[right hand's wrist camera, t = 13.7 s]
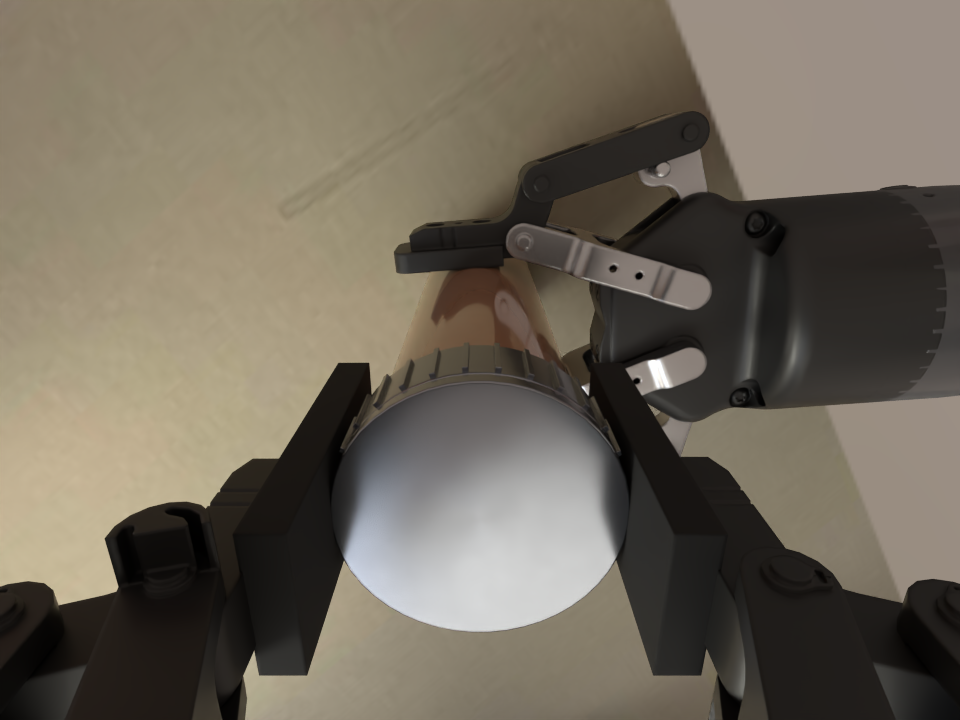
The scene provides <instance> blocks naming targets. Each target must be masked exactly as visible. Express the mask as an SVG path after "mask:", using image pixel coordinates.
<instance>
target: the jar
mask: <svg viewBox="0 0 960 720" xmlns="http://www.w3.org/2000/svg"><path fill="white" fill-rule="evenodd" d="M467 342H469V345H491V346H494V343H500V347H508V348H512V349H516V350H520V351H523V350H524V349H528V350H529V352H530V354H532V355H534V356H537V357H539V358H542V359H544V360H546V361H547V362H549V363H550V361H551V360H553V361H555V362H556V364H557V367H558V368H559V369H561V370H562V371H564V372H565V373H566V374H567V371H566V368H565V366H564V363H563V360H562V358H561V355H560V352H559V349H558V347H557V344H556V341H555V338H554V336H553V333H552V330H551V328H550V325H549V322H548V319H547V317H546V314H545V311H544V308H543V306H542V303H541V300H540V298H539V295H538V292H537V289H536V287H535V284H534V281H533V278H532V276H531V273H530V270H529V267H528V265H527V262H526V261H522V260H519V259H516V258H505V259H504V266H502V267H489V268H471V269H463V270H449V271H436V272H430V273H429V276H428V278H427V281H426V284H425V287H424V289H423V292H422V295H421V298H420V300H419V303H418V306H417V308H416V311H415V314H414V317H413V319H412V322H411V325H410V328H409V330H408V333H407V336H406V338H405V341H404V344H403V347H402V349H401V352H400V355H399V358H398V360H397V363H396V366H395V368H394V371H393V374H394V373H395V372H396V371H398V370H399V369H400V368H402V367H403V366H405V365H406V362H407V360H409V359H412V360H413V361H414V360H416V359H418V358H421V357H423V356H426V355H428V354H431V353H433V351H434V349H435V348H439V349H440V350H444V349H448V348H452V347H460V346H463V345H464V343H467Z"/></svg>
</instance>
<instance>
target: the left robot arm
mask: <svg viewBox="0 0 960 720" xmlns="http://www.w3.org/2000/svg"><path fill="white" fill-rule="evenodd" d="M709 132H710V127H709V123H708V120H707V119H706V117H705V116H704V115H702V114H701V113H699V112H694V111H691V112H682V113H673V114H665V115H662V116H659V117H656V118H653V119H650V120H647V121H644V122H642V123H639V124H636V125H633V126H630V127H627V128H625V129H622V130H619V131H616V132H613V133H610V134H607V135H605V136H602V137H599V138H596V139H593V140H590V141H588V142H585V143H582V144H579V145H576V146H573V147H570V148H568V149H565V150H562V151H559V152H556V153H553V154H551V155H548V156H545V157H542V158H539V159H536V160H533V161H531V162H528V163H526V164H525V165H524V166H523V167H522V168H521V170H520V172H519V175H518V183H517V186H516V189H515V193H514V196H513V200H512V203H511V205H510V207H509V208H508V210H507V211H506V212H505V213H503V214H502V215H500V216H498V217H495V218H485V219H472V220H459V221H446V222H433V223H426V224H424V225H422V226H420V227H418V228H416V229H414V230H413V232H412V233H411V234H410V236H409V237H410V242H409V243H404V244H400V245H399V246H398V247H397V248H396V250H395V251H394V257H395V265H396V272H397V273H401V274H409V273H423V272H436V271H449V270H463V269H471V268H489V267H502V266H504V259H505V258H516V259H519V260H522V261H526V262H530V263H533V264H537V265H541V266H544V267H548V268H552V269H555V270H559V271H563V272H566V273H568V274H570V275H572V276H574V277H576V278H579V279H582V280H586V281H589V282H590V294H591V297H592V300H593V304H594V307H595V313H594V317H593V320H592V324H591V328H590V344H587V345H585V346H583V347H580V348H578V349H575V350H573V351H570V352H568V353H567V354H565V355H564V356H563V357H562V360H563V363H564V366H565V368H566V371H567V374H568V375H569V376H570V377H572V378H574V377H575V376H576V377H577V378H578V379H579V381H580V384H581V386H582V388H583V389H584V390H585V392H586V393H587V394H588V396H589V385H590V372H591V363H622V364H623V366H624V367H625V369H626V371H627V372H628V374H629V375H630V377H631V379H632V380H633V382H634V383H635V385H636V387H637V388H638V390H639V391H640V393H641V395H642V396H643V398H644V400H645V401H646V403H647V404H649V405H651V406H653V407H654V408H656V409H658V410H659V411H661V412H660V413H659V414H658V415H656V416H655V417H656V419H657V420H658V422H659V424H660V425H661V427H662V429H663V430H664V432H665V433H666V435H667V437H668V438H669V440H670V441H671V443H672V445H673V446H674V448H675V449H676V451H677V453H678V454H679V456H680V457H681V453H682V451H683V448H684V445H685V442H686V439H687V436H688V433H689V430H690V427H691V424H692V422H696V421H700V420H703V419H705V418H707V417H708V416H710V415H712V414H714V413H716V412H718V411H721V410H724V409H727V408H733V407H741V408H754V409H780V408H795V407H809V406H824V405H838V404H853V403H867V402H882V401H896V400H910V399H925V398H939V397H949V396H958V395H960V185H950V186H929V187H915V186H908V185H899V186H891V187H885V188H881V189H880V190H877V191H866V192H853V193H840V194H827V195H815V196H802V197H789V198H777V199H764V200H751V201H730V200H727V199H725V198H723V197H722V196H720V195H718V194H715V193H711V192H708V190H707V185H706V179H705V174H704V169H703V163H702V158H701V152H700V148H702V147H703V146H704V144H705V143H706V141H707V139H708V137H709ZM629 174H632V175H633V177H634V179H635V180H636V181H637V182H639V183H640V184H643V185H646V186H650V187H660V186H665V187H667V188H668V189H669V191H670V192H671V194H672V198H670V199H669V200H668V201H666V202H665V203H664V204H663V205H661V206H660V207H659V208H658V209H656V210H655V211H654V212H653V213H651V214H650V215H649V216H648V217H646V218H645V219H644V220H643V221H641V222H640V223H639V224H638V225H636V226H635V227H634V228H633V229H631V230H630V231H629V232H627V233H626V234H625V235H624V236H622V237H621V238H620V239H619V240H618V239H614V238H611V237H607V236H604V235H600V234H597V233H593V232H590V231H586V230H582V229H579V228H575V227H567V226H563V225H559V224H556V223H552V222H549V221H547V220H548V217H549V214H550V211H551V208H552V204H553V201H554V200H555V199H558V198H561V197H564V196H567V195H570V194H573V193H576V192H579V191H582V190H585V189H588V188H591V187H593V186H596V185H599V184H602V183H605V182H608V181H611V180H614V179H617V178H620V177H623V176H626V175H629Z"/></svg>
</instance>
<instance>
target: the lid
mask: <svg viewBox="0 0 960 720" xmlns="http://www.w3.org/2000/svg"><path fill="white" fill-rule="evenodd" d="M339 452H340V453H342V456H341V458H340V461H339V463H338V466H337V469H336V472H335V474H334V477H333V482H332V487H331V492H330V506H331V516H332V525H333V533H334V537H335V541H336V544H337V546H338V548H339V551H340V553H341V555H342V557H343V559H344V561H345V562H346V564H347V565H348V567H349V569H350V570H351V572H352V573H353V574H354V575H355V577H356V578H357V579H358V580H359V582H360V583H361V584H362V585H363V586H364V587H365V588H366V589H367V590H368V591H369V592H371V593H372V594H373V595H374V596H375V597H376V598H378V599H379V600H380V601H382V602H383V603H385V604H386V605H387V606H389V607H391V608H392V609H394V610H396V611H398V612H399V613H401V614H403V615H405V616H407V617H410V618H412V619H414V620H417V621H419V622H422V623H425V624H429V625H432V626H435V627H440V628H445V629H449V630H455V631H466V632H494V631H504V630H510V629H515V628H520V627H525V626H528V625H531V624H534V623H538V622H541V621H543V620H546V619H548V618H550V617H552V616H555V615H557V614H559V613H561V612H562V611H564V610H566V609H568V608H569V607H571V606H573V605H574V604H575V603H577V602H578V601H579V600H581V599H582V598H584V597H585V596H586V595H587V594H588V593H589V592H590V591H592V590H593V589H594V588H595V587H596V586H597V585H598V584H599V583H600V581H601V580H602V579H603V578H604V577H605V575H606V574H607V573H608V572H609V570H610V569H611V567H612V565H613V564H614V562H615V561H616V559H617V557H618V555H619V553H620V550H621V548H622V546H623V544H624V541H625V537H626V533H627V527H628V519H629V510H630V492H629V487H628V482H627V477H626V474H625V472H624V469H623V466H622V464H621V461H620V459H619V456H621V455H622V452H621V450H620V447H619V445H618V443H617V441H616V438H615V436H614V434H613V432H612V429H611V427H610V425H609V423H608V421H607V419H605V418H604V416H603V414H602V411H601V409H600V407H599V405H598V402H597V400H596V398H595V397H594V396H593V397H592V398H590V397H589V396H588V394H587V393H586V392H585V390H584V389H583V388H582V386H581V384H580V381H579V379H578V378H577V377H576V376H575V377H574V378H572V377H570V376H569V375H568V374H566V373H565V372H564V371H562V370H561V369H559V368H558V367H557V364H556V362H555V361H553V360H551V361H550V363H549V362H547V361H546V360H544V359H542V358H539V357H537V356H534V355H532V354H530V352H529V350H528V349H524V350H523V351H520V350H516V349H512V348H508V347H500V343H494V346H491V345H469V342H467V343H464V345H463V346H460V347H452V348H448V349H444V350H440V349H439V348H435V349H434V351H433V353H431V354H428V355H426V356H423V357H421V358H418V359H416V360H414V361H413V360H412V359H409V360H407V362H406V365H405V366H403V367H402V368H400V369H399V370H398V371H396V372H395V373H394V374H392V375H391V376H389V375H388V374H387V375H385V376H384V377H383V380H382V382H381V385H380V386H379V387H378V388H377V389H376V390H375V392H374V393H373V394H372V396H371V395H369V394H367V396H366V397H365V399H364V401H363V404H362V406H361V408H360V410H359V413H358V415H357V417H355V416H354V418H353V420H352V423H351V425H350V427H349V429H348V432H347V434H346V436H345V438H344V440H343V443H342V445H341V447H340V450H339Z"/></svg>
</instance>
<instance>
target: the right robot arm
mask: <svg viewBox="0 0 960 720" xmlns="http://www.w3.org/2000/svg"><path fill="white" fill-rule="evenodd" d="M367 394H369V395H371V396H372V394H371V381H370V367H369V363H338V365H337V366H336V368H335V369H334V371H333V373H332V374H331V376H330V378H329V379H328V381H327V382H326V384H325V386H324V387H323V389H322V390H321V392H320V394H319V395H318V397H317V398H316V400H315V402H314V403H313V405H312V407H311V408H310V410H309V411H308V413H307V415H306V416H305V418H304V419H303V421H302V423H301V424H300V426H299V427H298V429H297V431H296V432H295V434H294V436H293V437H292V439H291V440H290V442H289V444H288V445H287V447H286V448H285V450H284V452H283V453H282V455H281V457H280V458H279V459H252V460H250V461H249V462H247V463H246V464H244V465H243V466H242V467H240V468H239V469H237V470H236V471H234V472H233V473H232V474H231V475H230V477H229V478H228V479H227V481H226V482H225V483H224V485H223V486H222V488H221V489H220V492H218V493H217V494H216V496H215V497H214V498H213V500H212V501H211V503H210V506H208V507H207V508H206V509H205V508H204V507H203V506H202V505H199V504H195V503H190V502H171V503H165V504H161V505H157V506H153V507H149V508H146V509H144V510H142V511H140V512H137V513H135V514H133V515H130V516H129V517H127V518H126V519H125V520H123V521H122V522H120V523H119V524H117V525H116V526H114V528H113V529H112V530H111V531H110V533H109V534H108V535H107V536H106V538H105V541H106V545H107V548H108V552H109V555H110V559H111V562H112V565H113V569H114V572H115V576H116V579H117V583H118V586H119V587H118V590H117V592H114V593H111V594H107V595H104V596H99V597H95V598H90V599H86V600H81V601H77V602H72V603H68V604H63V605H59V606H58V603H57V600H56V597H55V594H54V591H53V590H52V589H51V588H50V587H48V586H47V585H46V584H44V583H37V582H30V581H27V582H20V583H14V584H7V585H4V586H1V587H0V720H245V713H246V703H247V696H246V689H245V683H244V678H243V675H244V672H245V670H246V668H247V665H248V663H249V661H250V659H251V656H252V654H253V652H254V651H255V656H256V661H257V666H258V672H259V675H307V674H308V671H309V668H310V665H311V661H312V658H313V655H314V652H315V649H316V646H317V643H318V640H319V636H320V633H321V630H322V627H323V624H324V621H325V618H326V615H327V611H328V608H329V605H330V602H331V599H332V596H333V593H334V590H335V586H336V583H337V580H338V577H339V574H340V571H341V568H342V565H343V561H344V559H343V557H342V555H341V553H340V551H339V548H338V546H337V544H336V541H335V537H334V533H333V525H332V516H331V506H330V492H331V487H332V482H333V477H334V474H335V472H336V469H337V466H338V463H339V461H340V458H341V456H342V453H340V452H339V450H340V447H341V445H342V443H343V440H344V438H345V436H346V434H347V432H348V429H349V427H350V425H351V423H352V420H353V418H354V416H355V417H357V415H358V413H359V410H360V408H361V406H362V404H363V401H364V399H365V397H366V396H367ZM593 396H594V397H595V398H596V400H597V402H598V405H599V407H600V409H601V411H602V414H603V416H604V418H605V419H607V421H608V423H609V425H610V427H611V429H612V432H613V434H614V436H615V438H616V441H617V443H618V445H619V447H620V450H621V452H622V455H621V456H619V459H620V461H621V464H622V466H623V469H624V472H625V474H626V477H627V482H628V487H629V492H630V510H629V519H628V527H627V533H626V537H625V541H624V544H623V546H622V548H621V550H620V553H619V555H618V557H617V559H616V560H617V564H618V567H619V570H620V573H621V576H622V579H623V582H624V585H625V589H626V592H627V595H628V598H629V601H630V604H631V607H632V610H633V614H634V617H635V620H636V623H637V626H638V629H639V632H640V635H641V639H642V642H643V645H644V648H645V651H646V654H647V657H648V660H649V664H650V667H651V670H652V673H653V675H701V673H702V668H703V663H704V658H705V652H706V648H707V650H708V653H709V655H710V657H711V659H712V662H713V664H714V666H715V669H716V671H717V678H716V683H715V688H714V693H713V698H712V703H711V708H710V712H709V717H708V720H960V584H958V583H955V582H950V581H944V580H937V579H929V580H921V581H916V582H915V583H914V584H913V585H911V586H910V587H909V588H908V590H907V593H906V596H905V598H904V601H903V603H899V602H895V601H890V600H886V599H881V598H877V597H872V596H868V595H863V594H859V593H855V592H851V591H848V590H844V589H842V586H841V585H840V583H839V582H838V580H837V579H836V578H835V576H834V575H833V573H832V572H830V571H829V570H828V569H827V568H825V567H824V566H823V565H822V564H820V563H819V562H818V561H816V560H814V559H812V558H810V557H808V556H806V555H804V554H802V553H800V552H796V551H792V550H789V549H786V548H785V547H784V546H783V544H782V543H781V542H780V540H779V539H778V537H777V536H776V535H775V533H774V532H773V531H772V529H771V528H770V527H769V525H768V524H767V523H766V521H765V520H764V519H763V517H762V516H761V514H760V513H759V512H758V510H757V509H756V508H755V506H754V505H753V504H751V503H750V500H749V498H748V497H747V496H746V494H745V493H744V491H743V490H740V486H739V485H738V483H737V482H736V481H735V479H734V478H733V477H732V475H731V474H730V472H729V471H728V470H726V469H725V468H723V467H722V466H720V465H719V464H717V463H716V462H714V461H713V460H711V459H710V458H709V457H680V456H679V454H678V453H677V451H676V449H675V448H674V446H673V445H672V443H671V441H670V440H669V438H668V437H667V435H666V433H665V432H664V430H663V429H662V427H661V425H660V424H659V422H658V420H657V419H656V417H655V416H654V414H653V412H652V411H651V409H650V408H649V406H648V404H647V403H646V401H645V400H644V398H643V396H642V395H641V393H640V391H639V390H638V388H637V387H636V385H635V383H634V382H633V380H632V379H631V377H630V375H629V374H628V372H627V371H626V369H625V367H624V366H623V364H622V363H591V372H590V385H589V397H590V398H592V397H593Z"/></svg>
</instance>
